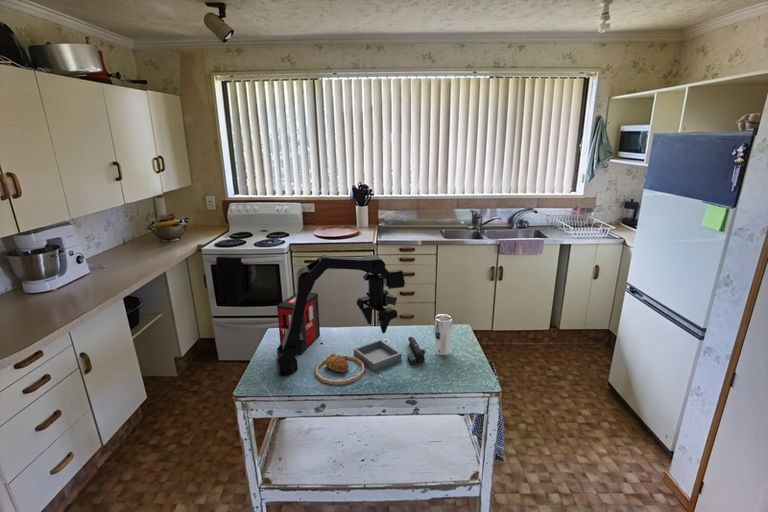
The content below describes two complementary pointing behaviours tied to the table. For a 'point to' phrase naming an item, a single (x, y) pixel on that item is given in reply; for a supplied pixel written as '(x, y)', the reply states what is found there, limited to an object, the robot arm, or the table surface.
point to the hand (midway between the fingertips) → (376, 328)
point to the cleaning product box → (309, 321)
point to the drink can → (442, 334)
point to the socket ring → (341, 380)
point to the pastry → (337, 363)
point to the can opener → (415, 352)
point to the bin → (377, 355)
